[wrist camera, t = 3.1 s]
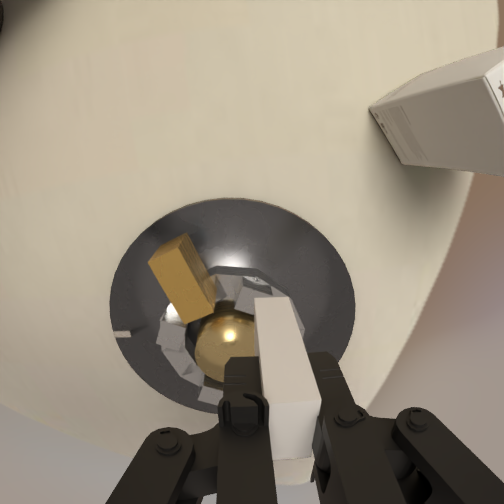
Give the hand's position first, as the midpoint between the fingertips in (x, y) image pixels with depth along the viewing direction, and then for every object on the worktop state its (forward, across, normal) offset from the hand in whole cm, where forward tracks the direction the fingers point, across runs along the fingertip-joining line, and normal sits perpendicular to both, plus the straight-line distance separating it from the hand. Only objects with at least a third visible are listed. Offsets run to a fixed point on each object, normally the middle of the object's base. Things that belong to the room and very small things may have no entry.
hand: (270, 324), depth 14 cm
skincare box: (+15, +15, +12) cm, 24 cm away
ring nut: (+13, -3, -6) cm, 15 cm away
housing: (+15, -2, -8) cm, 17 cm away
